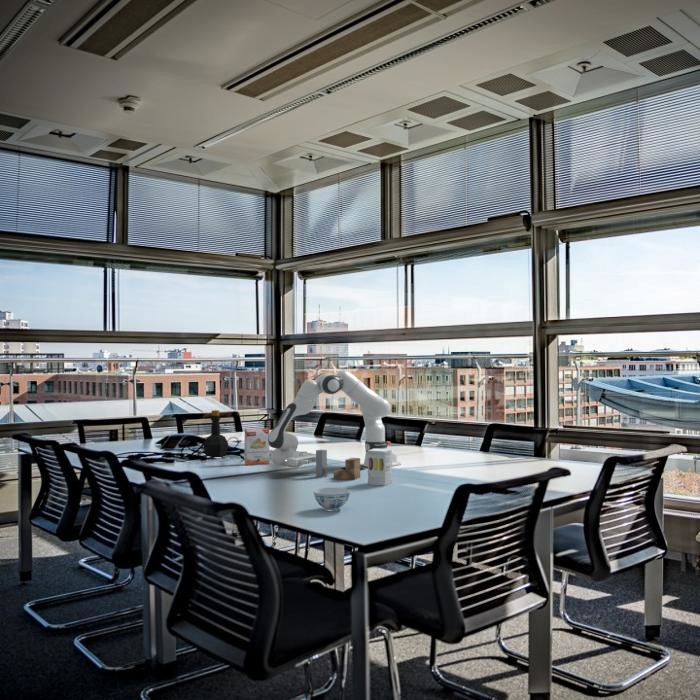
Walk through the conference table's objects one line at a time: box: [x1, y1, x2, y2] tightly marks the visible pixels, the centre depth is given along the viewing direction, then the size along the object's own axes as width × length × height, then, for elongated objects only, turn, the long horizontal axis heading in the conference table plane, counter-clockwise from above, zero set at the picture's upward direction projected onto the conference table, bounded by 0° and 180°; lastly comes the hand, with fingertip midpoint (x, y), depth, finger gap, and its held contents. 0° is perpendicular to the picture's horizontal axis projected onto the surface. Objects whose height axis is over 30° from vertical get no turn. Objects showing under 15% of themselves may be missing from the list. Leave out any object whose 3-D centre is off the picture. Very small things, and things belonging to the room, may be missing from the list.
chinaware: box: [313, 487, 351, 511], centre depth 291 cm, size 15×15×8 cm
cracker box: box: [244, 428, 270, 466], centre depth 422 cm, size 14×6×21 cm, turn 112°
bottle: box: [203, 409, 229, 457], centre depth 453 cm, size 16×16×30 cm
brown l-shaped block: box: [333, 457, 361, 481], centre depth 368 cm, size 12×8×10 cm
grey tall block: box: [315, 449, 328, 478], centre depth 373 cm, size 4×4×14 cm
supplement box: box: [367, 448, 393, 487], centre depth 350 cm, size 10×9×17 cm
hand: (314, 461), depth 376 cm, fingers open, 8 cm apart
